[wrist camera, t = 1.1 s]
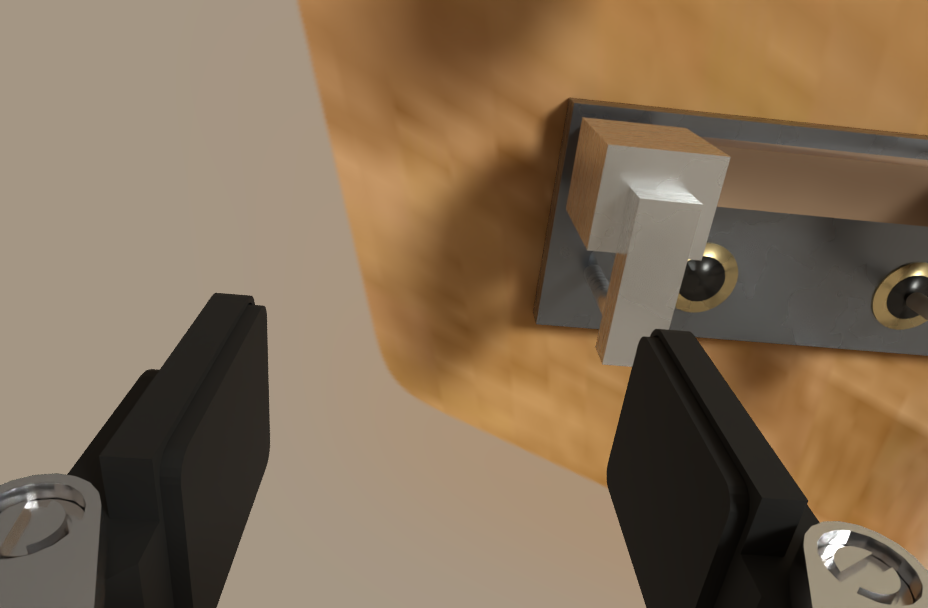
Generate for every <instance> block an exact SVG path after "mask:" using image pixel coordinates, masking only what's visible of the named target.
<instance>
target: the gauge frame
mask: <svg viewBox="0 0 928 608" xmlns="http://www.w3.org/2000/svg"><path fill="white" fill-rule="evenodd" d="M699 137H700V136H699ZM701 138H702V139H704V140H705V141H707V142H709V143H710V144H712V145H713V146H715V147H716V148H718V149H719V150H721V151H722V152H724V153H726V154H727V155H729V156H730V157H731V158H730V161H729V165H728V168H727V172H726V175H725V179H724V183H723V186H722V190H721V193H720V197H719V200H718V204H717V207H726V208H736V209H747V210H757V211H768V212H778V213H789V214H799V215H810V216H820V217H831V218H841V219H852V220H862V221H873V222H883V223H894V224H904V225H915V226H925V227H928V160H924V159H914V158H904V157H895V156H885V155H875V154H865V153H856V152H846V151H836V150H826V149H817V148H807V147H797V146H788V145H778V144H768V143H758V142H749V141H739V140H729V139H719V138H710V137H701ZM906 305H907V306H908V307H909V308H911V309H912V310H913V311H915V312H916V313H918V314H919V315H920V316H922V317H923V318H925V319H926V320H927V321H928V297H927V296H925V295H924V294H922V293H920V292H915V293H912V294H911V295H909V296H908V298H907V300H906Z"/></svg>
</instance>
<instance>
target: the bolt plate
mask: <svg viewBox="0 0 928 608" xmlns="http://www.w3.org/2000/svg"><path fill="white" fill-rule="evenodd" d="M582 117H584V118H594V119H604V120H613V121H623V122H633V123H642V124H652V125H661V126H671V127H681V128H687V129H688V130H690V131H691V132H693V133H695V134H696V135H698V136H700V137H710V138H719V139H729V140H739V141H749V142H758V143H768V144H778V145H788V146H797V147H807V148H817V149H826V150H836V151H846V152H856V153H865V154H875V155H885V156H895V157H904V158H914V159H924V160H928V136H926V135H917V134H907V133H898V132H888V131H879V130H869V129H860V128H851V127H841V126H832V125H822V124H813V123H803V122H794V121H784V120H775V119H765V118H756V117H746V116H737V115H727V114H718V113H708V112H699V111H690V110H680V109H671V108H661V107H652V106H642V105H633V104H623V103H614V102H604V101H595V100H585V99H576V98H569V102H568V108H567V114H566V120H565V126H564V132H563V138H562V144H561V150H560V156H559V162H558V167H557V173H556V179H555V185H554V191H553V197H552V203H551V209H550V215H549V221H548V227H547V233H546V238H545V244H544V250H543V256H542V262H541V268H540V274H539V280H538V286H537V292H536V298H535V304H534V309H533V314H534V318H535V322H536V324H541V325H553V326H565V327H578V328H590V329H599V328H600V323H601V319H602V313H601V311H600V309H599V307H598V305H597V303H596V300H595V298H594V296H593V294H592V292H591V290H590V288H589V285H588V283H587V281H586V279H585V277H584V271H585V269H586V268H587V267H588V266H589V265H598V266H599V267H600V268H601V269H602V271H603V273H604V275H605V277H606V279H607V280H608V282H609V283H610V278H611V273H612V269H613V264H614V260H615V255H616V253H611V252H600V251H589V250H587V249H586V247H585V245H584V243H583V241H582V239H581V238H580V236H579V234H578V232H577V230H576V228H575V226H574V224H573V222H572V220H571V218H570V216H569V214H568V212H567V211H566V206H567V200H568V194H569V189H570V183H571V178H572V172H573V166H574V161H575V155H576V150H577V144H578V139H579V133H580V127H581V122H582ZM915 292H920V293H922V294H924V295H925V296H927V297H928V227H925V226H915V225H904V224H894V223H883V222H873V221H862V220H852V219H841V218H831V217H820V216H810V215H799V214H789V213H778V212H768V211H757V210H747V209H736V208H726V207H716V211H715V214H714V218H713V222H712V225H711V229H710V232H709V236H708V239H707V243H706V246H705V250H704V254H703V257H702V261H701V260H690V259H688V261H687V265H686V268H685V272H684V276H683V279H682V283H681V287H680V290H679V294H678V298H677V302H676V305H675V309H674V313H673V316H672V320H671V324H670V327H669V330H678V331H690V332H691V333H692V334H693V335H694V336H695V337H702V338H714V339H727V340H739V341H751V342H764V343H776V344H789V345H801V346H813V347H826V348H838V349H851V350H863V351H876V352H888V353H900V354H913V355H925V356H928V321H927V320H926V319H925V318H923V317H922V316H920V315H919V314H918V313H916V312H915V311H913V310H912V309H911V308H909V307H908V306H907V305H906V300H907V298H908V296H909V295H911V294H912V293H915Z"/></svg>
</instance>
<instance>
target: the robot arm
mask: <svg viewBox="0 0 928 608" xmlns="http://www.w3.org/2000/svg"><path fill="white" fill-rule="evenodd" d="M269 449H270V424H269V384H268V345H267V313H266V308H265V306H260V305H259V306H258V305H255V303H254V299H253V297H252V296H247V295H235V294H223V293H215V294H213V296H212V297H211V298H210V300H209V301H208V302H207V304H206V305H205V307H204V308H203V309H202V311H201V312H200V314H199V315H198V317H197V318H196V320H195V321H194V322H193V324H192V325H191V326H190V328H189V329H188V331H187V332H186V334H185V335H184V336H183V338H182V339H181V341H180V342H179V343H178V345H177V346H176V348H175V349H174V351H173V352H172V353H171V355H170V356H169V358H168V359H167V360H166V362H165V363H164V365H163V366H162V367H161V369H160V370H155V369H151V370H147V371H145V372H144V373H143V374H142V375H141V376H140V377H139V379H138V380H137V382H136V383H135V384H134V386H133V387H132V388H131V390H130V391H129V392H128V394H127V395H126V396H125V398H124V399H123V400H122V402H121V403H120V404H119V406H118V407H117V408H116V410H115V411H114V412H113V414H112V415H111V417H110V418H109V419H108V421H107V422H106V423H105V425H104V426H103V427H102V429H101V430H100V431H99V433H98V434H97V435H96V437H95V438H94V439H93V441H92V442H91V444H90V445H89V446H88V448H87V449H86V450H85V451H84V453H83V454H82V456H81V457H80V459H79V460H78V461H77V462H76V464H75V465H74V467H73V468H72V469H71V470H70V472H69V473H68V474H67V475H64V474H57V473H56V474H41V475H32V476H29V477H24V478H20V479H16V480H12V481H9V482H7V483H4V484H2V485H0V608H216V607H217V604H218V601H219V599H220V596H221V593H222V590H223V588H224V585H225V582H226V579H227V576H228V573H229V571H230V568H231V565H232V562H233V559H234V556H235V554H236V551H237V548H238V545H239V542H240V539H241V537H242V534H243V531H244V528H245V525H246V523H247V520H248V517H249V514H250V511H251V508H252V506H253V503H254V500H255V497H256V494H257V491H258V489H259V485H260V483H261V480H262V477H263V475H264V472H265V469H266V466H267V462H268V457H269ZM607 485H608V489H609V492H610V495H611V499H612V502H613V505H614V508H615V511H616V514H617V517H618V520H619V523H620V526H621V530H622V533H623V536H624V539H625V542H626V545H627V548H628V551H629V555H630V558H631V561H632V564H633V567H634V570H635V573H636V576H637V580H638V583H639V586H640V589H641V592H642V595H643V598H644V601H645V604H646V608H928V571H927V570H926V569H925V568H924V567H923V566H922V564H921V563H920V562H919V561H918V560H917V559H916V558H915V557H914V556H913V555H911V554H910V553H909V552H908V551H906V550H905V549H904V548H902V547H901V546H900V545H898V544H897V543H895V542H894V541H892V540H890V539H888V538H886V537H885V536H883V535H881V534H879V533H877V532H875V531H872V530H869V529H867V528H864V527H862V526H859V525H855V524H850V523H845V522H840V521H833V522H821V523H819V521H818V520H817V518H816V517H815V515H814V514H813V512H812V511H811V510H810V508H809V507H808V505H807V503H808V500H807V498H806V497H805V495H804V494H803V493H802V491H801V490H800V488H799V487H798V485H797V484H796V482H795V481H794V479H793V478H792V477H791V475H790V474H789V472H788V471H787V469H786V468H785V466H784V465H783V464H782V462H781V461H780V459H779V458H778V456H777V455H776V453H775V452H774V450H773V449H772V448H771V446H770V445H769V443H768V442H767V440H766V439H765V437H764V436H763V435H762V433H761V432H760V430H759V429H758V427H757V426H756V424H755V423H754V422H753V420H752V419H751V417H750V416H749V414H748V413H747V411H746V410H745V408H744V407H743V406H742V404H741V403H740V401H739V400H738V398H737V397H736V395H735V394H734V393H733V391H732V390H731V388H730V387H729V385H728V384H727V382H726V381H725V380H724V378H723V377H722V375H721V374H720V372H719V371H718V369H717V368H716V366H715V365H714V364H713V362H712V361H711V359H710V358H709V356H708V355H707V353H706V352H705V351H704V349H703V348H702V346H701V345H700V343H699V342H698V340H697V339H696V338H695V336H694V335H693V334H692V333H691V332H690V331H678V330H666V329H655V330H653V332H652V333H651V335H650V337H646V336H643V337H642V338H641V339H640V341H639V343H638V346H637V350H636V354H635V358H634V362H633V366H632V370H631V374H630V378H629V382H628V386H627V390H626V394H625V398H624V402H623V406H622V410H621V414H620V418H619V422H618V426H617V430H616V434H615V438H614V442H613V446H612V450H611V454H610V457H609V461H608V466H607Z"/></svg>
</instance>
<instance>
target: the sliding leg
mask: <svg viewBox="0 0 928 608" xmlns="http://www.w3.org/2000/svg"><path fill="white" fill-rule="evenodd" d="M730 158H731V157H730V156H729V155H727V154H726V153H724V152H722V151H721V150H719V149H718V148H716V147H715V146H713V145H712V144H710V143H709V142H707V141H705V140H704V139H702V138H701V137H699V136H698V135H696V134H695V133H693V132H691V131H690V130H688V129H687V128H681V127H671V126H661V125H652V124H642V123H633V122H623V121H613V120H604V119H594V118H584V117H582V122H581V127H580V133H579V139H578V144H577V150H576V155H575V161H574V166H573V172H572V178H571V183H570V189H569V194H568V200H567V206H566V211H567V212H568V214H569V216H570V218H571V220H572V222H573V224H574V226H575V228H576V230H577V232H578V234H579V236H580V238H581V239H582V241H583V243H584V245H585V247H586V249H587V250H589V251H600V252H611V253H616V255H615V260H614V264H613V269H612V273H611V278H610V283H609V282H608V280H607V279H606V277H605V275H604V273H603V271H602V269H601V268H600V267H599V266H598V265H589V266H588V267H587V268H586V269H585V271H584V277H585V279H586V281H587V283H588V285H589V288H590V290H591V292H592V294H593V296H594V298H595V300H596V303H597V305H598V307H599V309H600V311H601V313H602V319H601V323H600V328H599V333H598V337H597V342H596V346H595V348H596V350H597V353H598V355H599V357H600V360H601V362H602V364H604V365H617V366H630V367H632V366H633V362H634V358H635V354H636V350H637V346H638V343H639V341H640V339H641V338H642V337H643V336H646V337H650V335H651V333H652V332H653V330H655V329H666V330H669V327H670V324H671V320H672V316H673V313H674V309H675V305H676V302H677V298H678V294H679V290H680V287H681V283H682V279H683V276H684V272H685V268H686V265H687V261H688V259H690V260H701V261H702V257H703V254H704V250H705V246H706V243H707V239H708V236H709V232H710V229H711V225H712V222H713V218H714V214H715V211H716V207H717V204H718V200H719V197H720V193H721V190H722V186H723V183H724V179H725V175H726V172H727V168H728V165H729V161H730Z"/></svg>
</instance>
